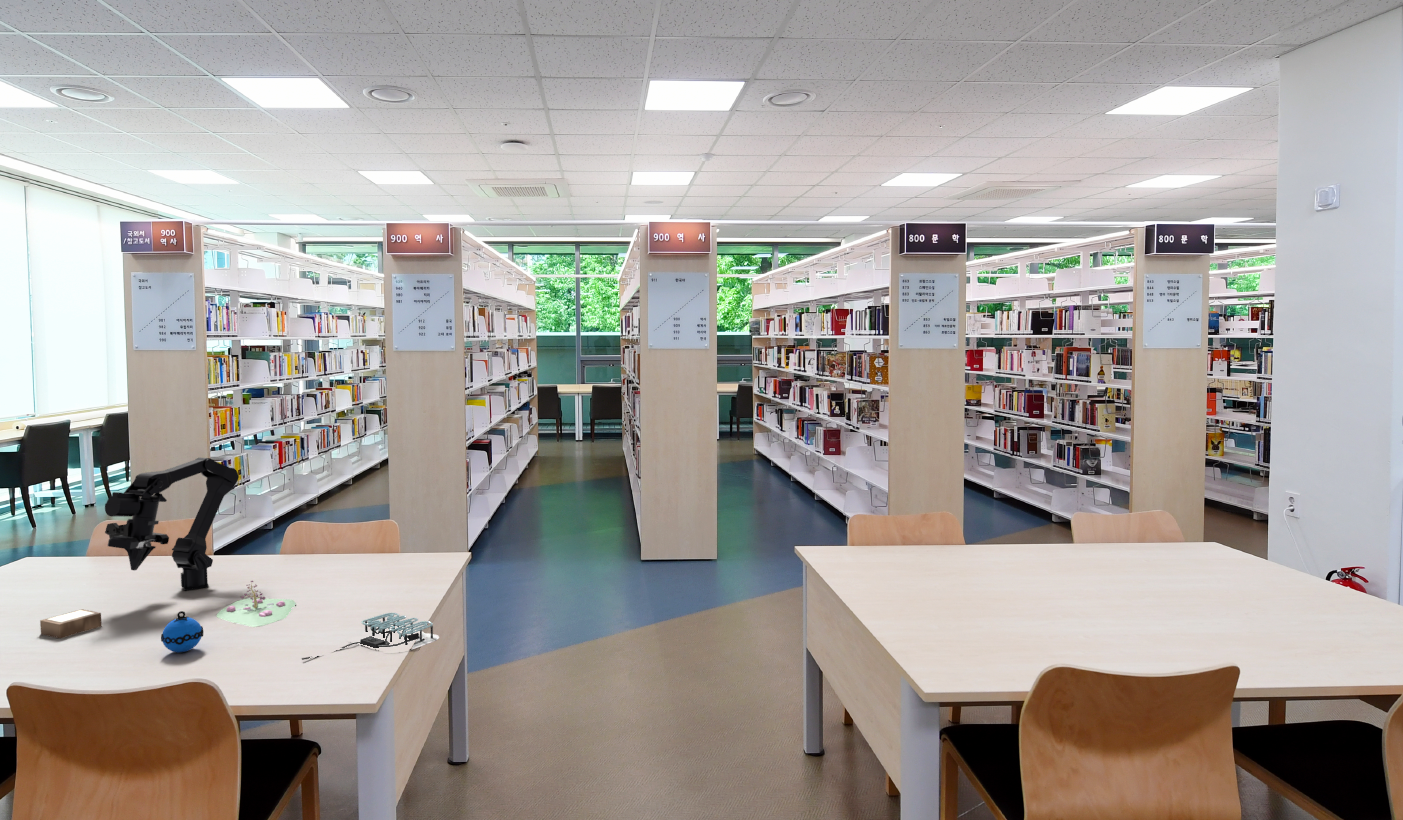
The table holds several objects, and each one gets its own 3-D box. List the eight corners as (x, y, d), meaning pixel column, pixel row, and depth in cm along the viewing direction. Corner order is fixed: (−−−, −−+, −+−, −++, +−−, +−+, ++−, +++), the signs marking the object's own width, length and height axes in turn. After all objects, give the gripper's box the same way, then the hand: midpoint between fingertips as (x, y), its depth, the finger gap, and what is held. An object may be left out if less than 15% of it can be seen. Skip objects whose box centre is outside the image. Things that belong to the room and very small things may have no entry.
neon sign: (287, 642, 194) (391, 609, 219) (288, 659, 195) (392, 624, 220) (342, 659, 183) (445, 623, 208) (342, 678, 184) (445, 639, 209)
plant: (313, 616, 226) (312, 585, 226) (231, 634, 212) (229, 600, 211) (284, 597, 244) (283, 567, 243) (206, 612, 230) (205, 581, 229)
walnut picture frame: (82, 608, 219) (40, 619, 210) (100, 612, 216) (59, 623, 207) (82, 623, 220) (40, 635, 210) (101, 627, 216) (59, 639, 207)
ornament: (159, 660, 193) (157, 619, 192) (165, 648, 200) (163, 608, 200) (201, 654, 196) (199, 614, 196) (205, 643, 204) (204, 604, 203)
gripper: (137, 511, 245) (126, 562, 244) (94, 514, 227) (82, 570, 225) (174, 516, 246) (164, 568, 244) (134, 519, 227) (123, 575, 226)
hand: (133, 570), depth 235 cm, fingers closed
